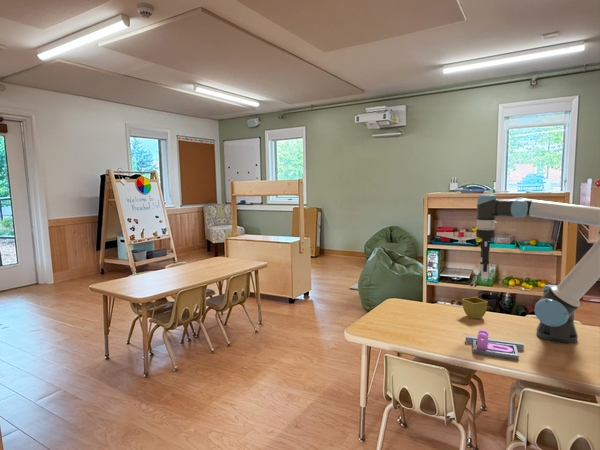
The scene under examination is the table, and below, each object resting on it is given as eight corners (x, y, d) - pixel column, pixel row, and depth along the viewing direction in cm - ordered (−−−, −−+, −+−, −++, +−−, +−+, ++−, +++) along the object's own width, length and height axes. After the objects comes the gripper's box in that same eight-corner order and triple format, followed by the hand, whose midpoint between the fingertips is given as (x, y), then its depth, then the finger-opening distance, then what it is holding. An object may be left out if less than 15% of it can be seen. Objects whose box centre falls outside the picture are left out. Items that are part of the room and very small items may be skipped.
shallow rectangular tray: (515, 349, 158) (515, 345, 157) (518, 360, 149) (518, 355, 148) (473, 344, 164) (473, 339, 164) (473, 354, 155) (473, 349, 155)
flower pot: (461, 315, 198) (461, 298, 197) (474, 313, 200) (475, 296, 199) (473, 321, 190) (474, 303, 188) (487, 318, 192) (488, 301, 191)
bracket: (476, 349, 157) (477, 333, 156) (478, 344, 162) (478, 328, 161) (513, 356, 151) (513, 339, 150) (513, 350, 155) (513, 334, 155)
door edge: (523, 348, 159) (523, 343, 158) (523, 350, 157) (523, 344, 157) (465, 340, 167) (465, 335, 167) (465, 342, 166) (465, 337, 165)
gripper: (496, 233, 159) (495, 282, 161) (493, 225, 181) (491, 269, 184) (477, 232, 162) (475, 281, 164) (475, 225, 184) (474, 268, 187)
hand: (483, 275), depth 174 cm, fingers open, 13 cm apart
